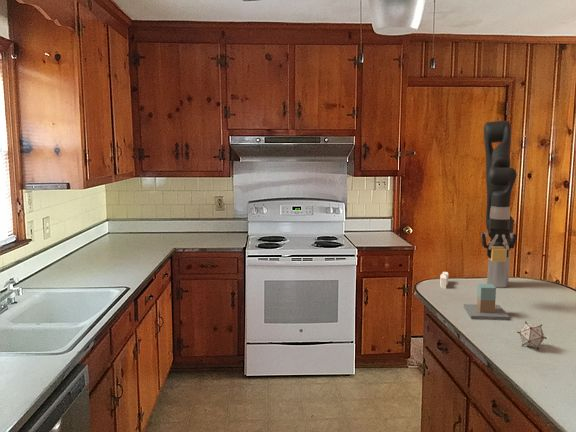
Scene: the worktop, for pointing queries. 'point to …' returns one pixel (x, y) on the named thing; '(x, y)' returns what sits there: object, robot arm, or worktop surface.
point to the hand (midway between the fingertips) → (497, 258)
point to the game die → (532, 335)
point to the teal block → (486, 292)
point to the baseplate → (485, 315)
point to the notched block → (444, 280)
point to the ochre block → (498, 254)
